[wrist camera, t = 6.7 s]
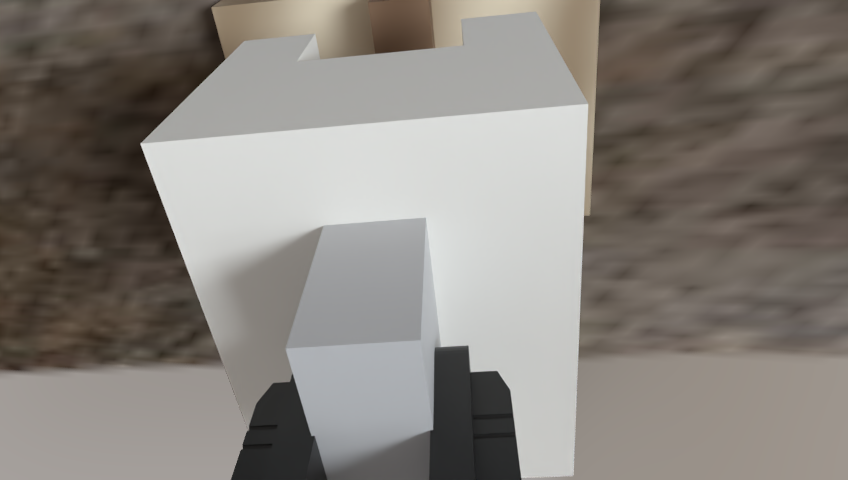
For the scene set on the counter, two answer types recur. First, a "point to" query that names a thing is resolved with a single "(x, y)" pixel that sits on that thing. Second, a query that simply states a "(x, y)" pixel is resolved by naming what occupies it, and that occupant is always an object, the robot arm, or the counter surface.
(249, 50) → the notched white block
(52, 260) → the counter surface
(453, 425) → the robot arm
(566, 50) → the wall board
